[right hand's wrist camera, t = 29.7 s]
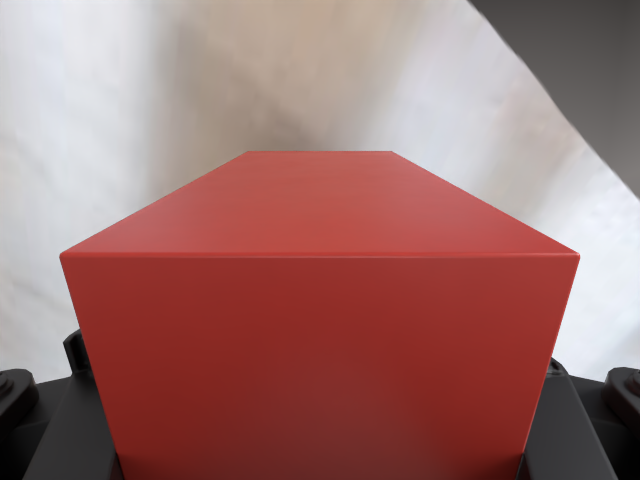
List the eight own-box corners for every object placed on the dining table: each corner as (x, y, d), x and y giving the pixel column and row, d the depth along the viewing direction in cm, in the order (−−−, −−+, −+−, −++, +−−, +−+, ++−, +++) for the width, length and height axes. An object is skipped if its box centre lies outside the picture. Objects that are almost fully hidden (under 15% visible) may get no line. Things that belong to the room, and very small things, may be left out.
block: (380, 318, 18) (472, 633, 7) (259, 319, 18) (167, 633, 7) (392, 151, 15) (583, 253, 4) (247, 151, 15) (55, 253, 4)
